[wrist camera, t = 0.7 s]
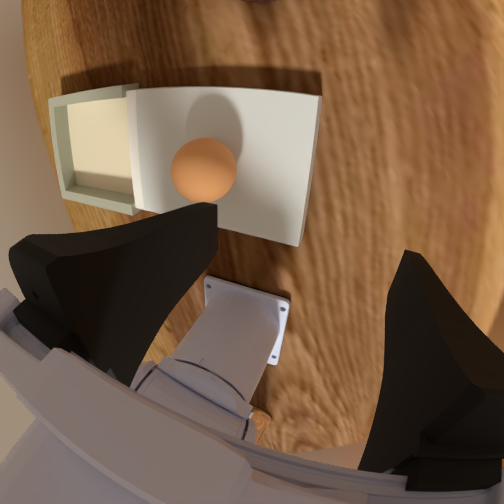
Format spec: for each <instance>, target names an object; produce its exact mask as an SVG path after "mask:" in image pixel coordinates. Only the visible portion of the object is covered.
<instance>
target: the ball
mask: <svg viewBox="0 0 504 504" xmlns="http://www.w3.org/2000/svg"><path fill="white" fill-rule="evenodd" d="M236 174H237V166H236V161H235V158H234V156H233V154H232V152H231V151H230V150H229V148H228V147H227V146H225V145H224V144H223V143H221V142H219V141H217V140H214V139H210V138H198V139H195V140H192V141H190V142H188V143H186V144H185V145H183V146H182V147H181V148H180V149H179V150H178V151H177V153H176V154H175V156H174V158H173V161H172V164H171V178H172V182H173V184H174V186H175V188H176V189H177V191H178V192H179V193H180V194H181V195H182V196H183V197H185V198H186V199H188V200H190V201H193V202H196V203H199V202H207V203H210V202H214V201H216V200H218V199H220V198H222V197H223V196H225V195H226V194H227V193H228V192H229V190H230V189H231V188H232V186H233V184H234V182H235V179H236Z"/></svg>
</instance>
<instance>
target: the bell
mask: <svg viewBox="0 0 504 504" xmlns="http://www.w3.org/2000/svg"><path fill="white" fill-rule="evenodd" d="M244 1H256V2H266V1H275V0H244Z"/></svg>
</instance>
